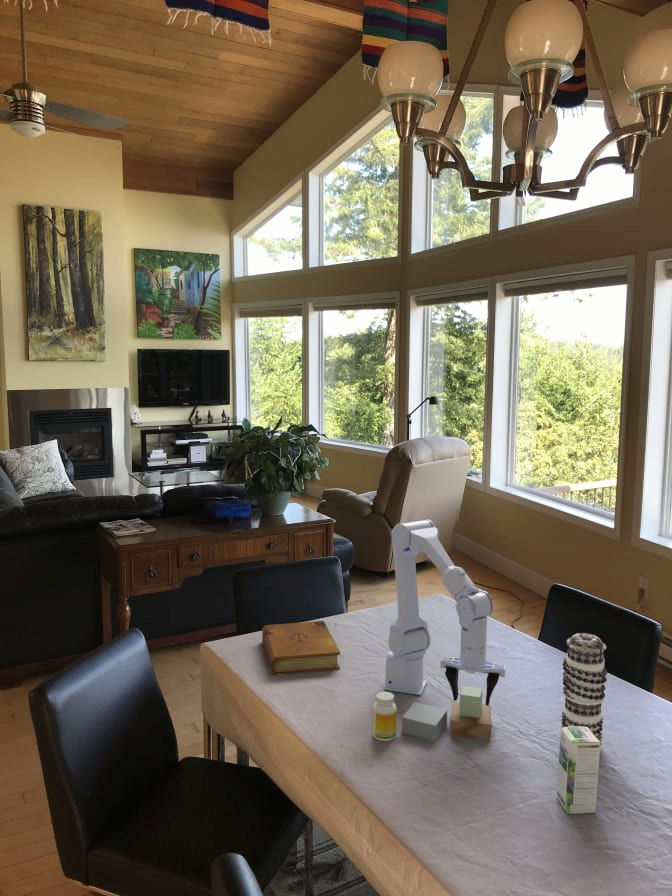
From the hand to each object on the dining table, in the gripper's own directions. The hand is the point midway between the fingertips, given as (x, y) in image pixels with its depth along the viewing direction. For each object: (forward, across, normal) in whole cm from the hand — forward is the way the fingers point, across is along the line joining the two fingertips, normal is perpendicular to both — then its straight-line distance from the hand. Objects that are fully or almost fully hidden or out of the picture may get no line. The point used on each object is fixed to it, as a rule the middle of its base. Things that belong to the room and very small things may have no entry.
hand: (471, 701), depth 162 cm
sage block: (+3, 0, 0) cm, 3 cm away
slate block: (+7, -10, -4) cm, 13 cm away
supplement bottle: (+7, -18, -10) cm, 22 cm away
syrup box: (+7, +23, -22) cm, 33 cm away
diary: (+7, -52, +24) cm, 58 cm away
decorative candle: (+7, +24, 0) cm, 25 cm away
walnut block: (+7, 0, 0) cm, 7 cm away
